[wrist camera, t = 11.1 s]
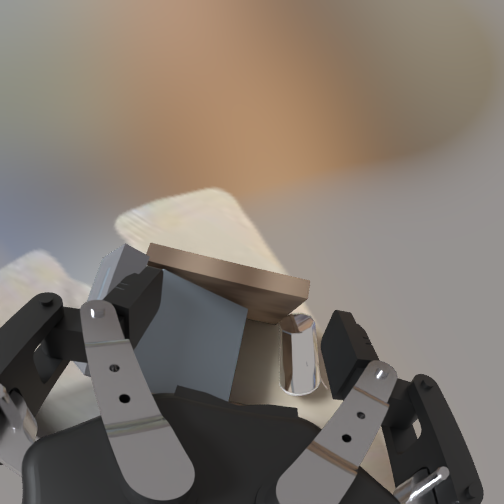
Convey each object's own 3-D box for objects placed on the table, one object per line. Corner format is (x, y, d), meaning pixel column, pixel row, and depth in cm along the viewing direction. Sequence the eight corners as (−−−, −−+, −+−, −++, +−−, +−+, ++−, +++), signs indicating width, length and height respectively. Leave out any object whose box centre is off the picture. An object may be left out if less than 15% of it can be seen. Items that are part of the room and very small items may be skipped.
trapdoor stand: (143, 391, 26) (104, 401, 16) (170, 287, 32) (150, 242, 21) (256, 419, 27) (281, 445, 16) (277, 312, 32) (310, 280, 22)
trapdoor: (70, 360, 17) (83, 377, 13) (103, 255, 21) (126, 240, 17) (199, 394, 25) (239, 408, 21) (219, 309, 29) (260, 308, 25)
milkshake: (327, 306, 26) (325, 374, 30) (273, 310, 27) (281, 377, 31) (333, 335, 22) (328, 403, 26) (270, 339, 23) (279, 406, 26)
